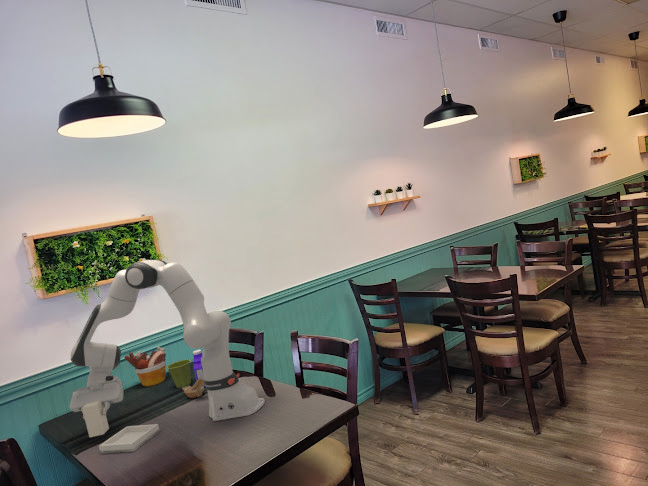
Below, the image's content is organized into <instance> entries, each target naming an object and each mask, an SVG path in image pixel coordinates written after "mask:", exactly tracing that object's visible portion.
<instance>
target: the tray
mask: <svg viewBox="0 0 648 486" xmlns="http://www.w3.org/2000/svg"><path fill="white" fill-rule="evenodd" d="M160 432H161V431H160V427H159V424H158V423H154V424H151V423H150V424H140V425H130V426H125V427H124V428H123V429H120V431H118V432H116V433H115V434H114V435H112V436H111V437H109V438H108V439H106V440H105V441H104V442H102V443H101V444H99V445H98V448H99V453H100V455H102V454H103V455H104V454H118V453H119V454H121V453H120V452H122V453H135V451H136V450H138V449H140V448H141V447H142V446H143V445H145V442H146V443H147V442H149V441H150V440H151V439H152V438H153V437H155V436H157V435H158V433H160ZM149 439H150V440H149ZM140 446H141V447H140Z"/></svg>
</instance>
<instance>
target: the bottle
mask: <svg viewBox="0 0 648 486" xmlns="http://www.w3.org/2000/svg"><path fill="white" fill-rule="evenodd" d="M192 355H193V360H192V362H193V372H194V375H195V378H196V382H197V381H198V379H199V378H201V379H203V380H205V377H204V373H203V368H202V364H201V358H202V355H203V352H202V349H195V350H194V351H192ZM204 387H205V386H204ZM205 388H206V387H205Z"/></svg>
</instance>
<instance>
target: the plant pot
mask: <svg viewBox="0 0 648 486" xmlns="http://www.w3.org/2000/svg"><path fill="white" fill-rule="evenodd" d="M191 361H192V360H191V359H181V360H178V361H174V362H173V363H170V364H169V365H167V366H166V370H167V371H168V372H169V373H170V375H171V378H172V381H173V382H174V385H175V387H176V388H177V389H182V388H183V387H185V386H191V383H192V377H191Z"/></svg>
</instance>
